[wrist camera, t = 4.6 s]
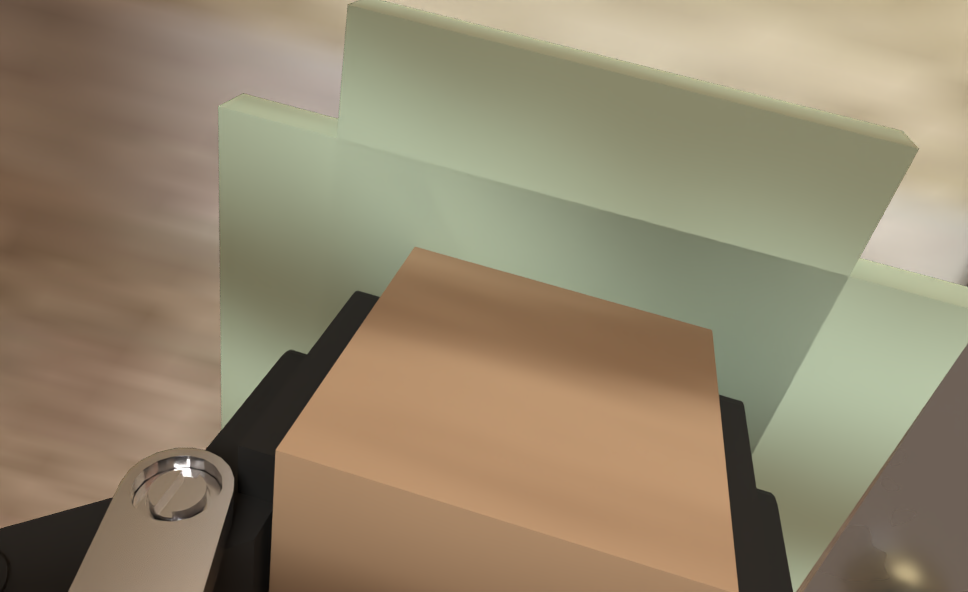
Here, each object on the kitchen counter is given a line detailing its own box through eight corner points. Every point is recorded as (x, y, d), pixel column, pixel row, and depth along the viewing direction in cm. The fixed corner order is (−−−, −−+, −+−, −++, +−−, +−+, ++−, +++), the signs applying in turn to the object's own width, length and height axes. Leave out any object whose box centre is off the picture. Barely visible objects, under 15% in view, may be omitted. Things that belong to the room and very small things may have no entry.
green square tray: (244, -35, 11) (-96, 36, 6) (1046, 167, 10) (1416, 446, 5) (239, 496, 17) (71, 739, 12) (728, 652, 16) (755, 984, 11)
